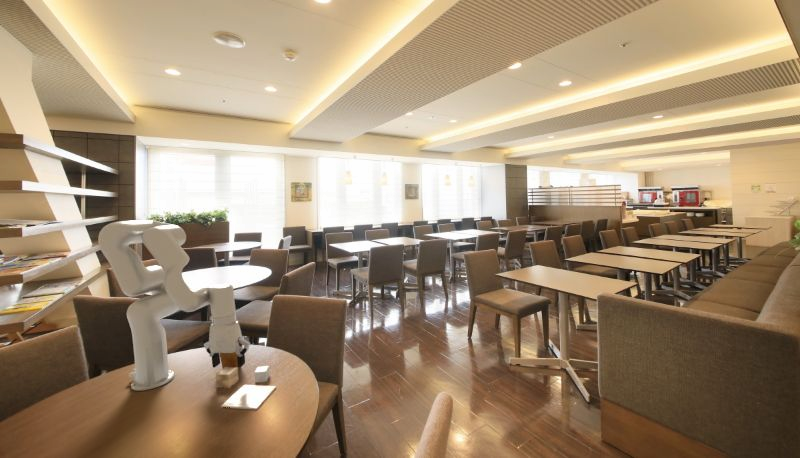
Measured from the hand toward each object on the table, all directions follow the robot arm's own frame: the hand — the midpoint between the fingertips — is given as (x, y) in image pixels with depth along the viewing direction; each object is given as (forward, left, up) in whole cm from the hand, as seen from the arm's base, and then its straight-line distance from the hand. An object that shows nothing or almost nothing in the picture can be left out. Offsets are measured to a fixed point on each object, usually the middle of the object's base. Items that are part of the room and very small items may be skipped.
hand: (229, 365), depth 116 cm
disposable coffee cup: (-7, +11, -7) cm, 15 cm away
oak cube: (-1, 0, -7) cm, 7 cm away
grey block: (+10, +4, -7) cm, 13 cm away
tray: (+12, -7, -7) cm, 15 cm away
